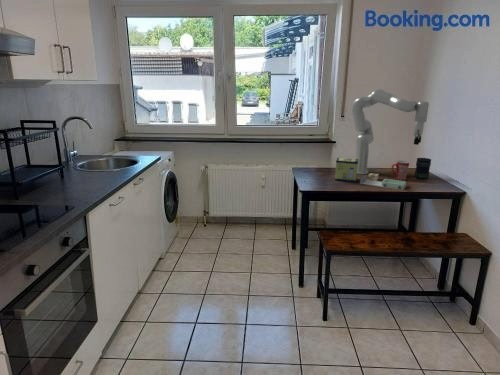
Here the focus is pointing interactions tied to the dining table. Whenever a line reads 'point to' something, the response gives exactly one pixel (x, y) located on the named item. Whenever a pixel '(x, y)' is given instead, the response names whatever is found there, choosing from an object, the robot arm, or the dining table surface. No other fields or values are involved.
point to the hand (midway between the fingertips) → (417, 143)
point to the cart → (393, 183)
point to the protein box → (346, 169)
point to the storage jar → (422, 168)
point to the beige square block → (373, 176)
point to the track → (375, 183)
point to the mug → (401, 170)
